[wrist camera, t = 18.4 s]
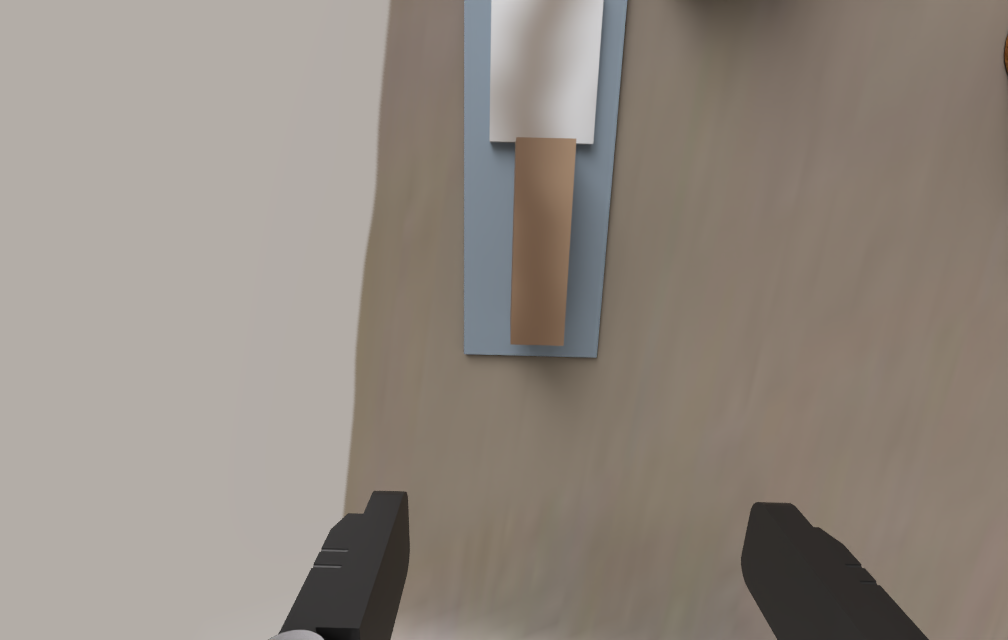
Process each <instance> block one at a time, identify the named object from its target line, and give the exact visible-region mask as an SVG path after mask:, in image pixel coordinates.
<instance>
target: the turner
mask: <svg viewBox="0 0 1008 640" xmlns="http://www.w3.org/2000/svg"><path fill="white" fill-rule="evenodd" d="M603 2H604V0H491V68H490V142H500V143H515V168H514V204H513V239H512V275H511V310H510V345H550V346H564V331H565V315H566V299H567V282H568V266H569V250H570V234H571V218H572V202H573V186H574V170H575V154H576V144H583V145H591V144H593V141H594V127H595V113H596V99H597V85H598V71H599V57H600V43H601V29H602V16H603Z"/></svg>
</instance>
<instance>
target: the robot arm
mask: <svg viewBox="0 0 1008 640" xmlns="http://www.w3.org/2000/svg"><path fill="white" fill-rule="evenodd" d="M409 553H410V541H409V514H408V496H407V492H401V491H374V492H373V493H372V495H371V498H370V500H369V502H368V505H367V507H366V509H365V512H364V514H351V513H348V514H347V515H346V516H345V517H344V518H343V519H342V520H340V521H339V522H338V523H337V524H336V525H335V526H334V527H333V528H332V529H331V530H330V532H329V534H328V536H327V538H326V540H325V542H324V544H323V546H322V550H321V552H319V554H318V556H317V558H316V560H315V562H314V566H313V568H311V570H310V572H309V574H308V576H307V578H306V580H305V582H304V584H303V586H302V588H301V590H300V592H299V594H298V596H297V598H296V600H295V603H294V605H293V607H292V608H291V611H290V613H289V615H288V616H287V619H286V620H285V623H284V625H283V627H282V629H281V631H280V632H279V634H278V635H276V636H274V637H272V638H270V639H268V640H390V639H391V635H392V631H393V627H394V623H395V619H396V615H397V612H398V608H399V604H400V600H401V596H402V592H403V588H404V584H405V580H406V576H407V571H408V564H409ZM741 567H742V573H743V577H744V580H745V583H746V585H747V587H748V589H749V591H750V593H751V594H752V596H753V598H754V600H755V601H756V603H757V605H758V607H759V608H760V610H761V612H762V614H763V615H764V617H765V619H766V620H767V622H768V624H769V626H770V627H771V629H772V631H773V633H774V634H775V636H776V638H777V640H929V639H928V638H927V637H926V636H925V635H924V634H923V633H922V632H921V630H920V629H919V628H918V627H917V626H916V625H915V624H914V623H913V622H912V620H911V619H910V618H909V617H908V616H907V615H906V614H905V613H904V612H903V610H902V609H901V608H900V607H899V606H898V605H897V604H896V603H895V601H894V600H893V599H892V598H891V597H890V596H889V595H888V594H887V593H886V591H885V590H884V589H883V588H882V587H881V586H880V585H877V584H876V580H875V579H874V578H873V577H872V576H871V575H870V574H869V573H868V571H867V570H866V569H865V568H862V567H861V564H860V563H859V561H858V560H857V559H856V558H855V557H854V556H853V555H852V554H851V552H850V551H849V550H848V549H847V548H846V547H845V546H844V545H843V544H842V543H840V542H839V541H838V540H836V539H835V538H833V537H832V536H830V535H829V534H828V533H826V532H825V531H823V530H822V529H820V528H819V527H813V526H812V525H811V524H810V523H809V522H808V520H807V519H806V518H805V517H804V516H803V515H802V513H801V512H800V511H799V510H798V509H797V508H796V507H795V506H794V505H793V504H791V503H766V502H756V503H755V504H753V506H752V508H751V511H750V516H749V521H748V526H747V531H746V536H745V541H744V546H743V551H742V556H741Z"/></svg>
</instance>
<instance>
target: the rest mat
mask: <svg viewBox="0 0 1008 640" xmlns="http://www.w3.org/2000/svg"><path fill="white" fill-rule="evenodd" d="M626 9H627V0H604V2H603V16H602V29H601V43H600V57H599V71H598V85H597V99H596V113H595V127H594V141H593V144H591V145H583V144H576V154H575V170H574V186H573V202H572V218H571V234H570V250H569V266H568V282H567V299H566V315H565V331H564V346H550V345H510V310H511V275H512V239H513V204H514V168H515V143H500V142H490V68H491V0H464V354H483V355H521V356H558V357H596V358H597V348H598V336H599V325H600V313H601V301H602V290H603V278H604V266H605V255H606V243H607V231H608V220H609V208H610V196H611V184H612V173H613V161H614V149H615V138H616V126H617V114H618V103H619V91H620V79H621V68H622V56H623V44H624V33H625V21H626Z"/></svg>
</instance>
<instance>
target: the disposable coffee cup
mask: <svg viewBox="0 0 1008 640" xmlns="http://www.w3.org/2000/svg"><path fill="white" fill-rule="evenodd" d="M1005 64H1006V68H1007V72H1008V36H1007V39H1006V46H1005Z"/></svg>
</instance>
